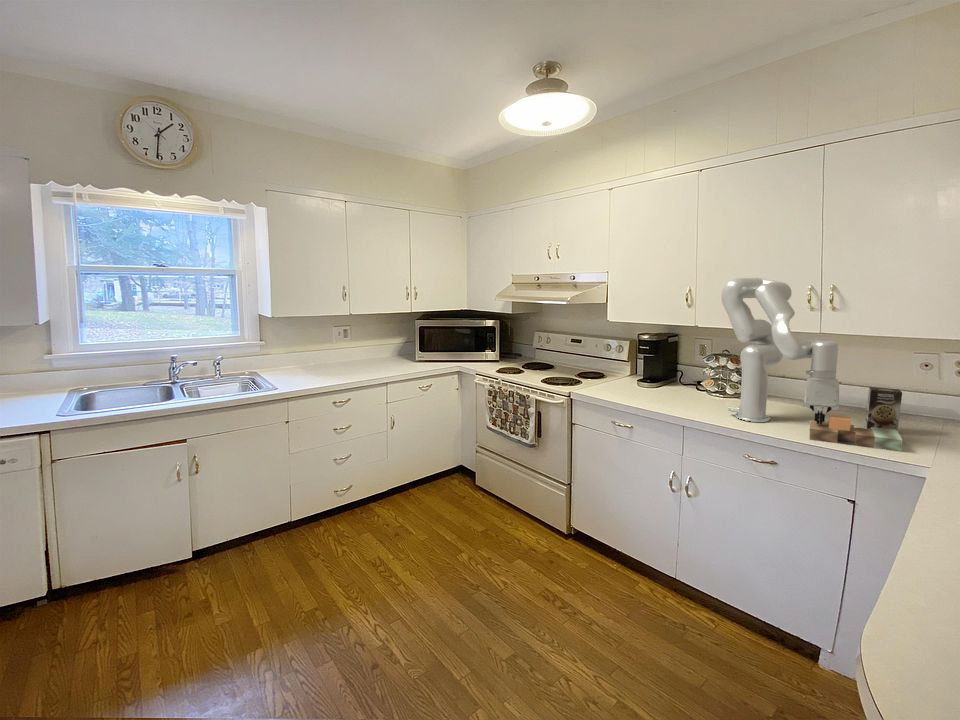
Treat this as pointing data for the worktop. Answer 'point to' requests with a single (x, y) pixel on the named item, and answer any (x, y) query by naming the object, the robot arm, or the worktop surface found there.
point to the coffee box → (883, 408)
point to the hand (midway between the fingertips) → (819, 423)
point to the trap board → (857, 436)
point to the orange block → (839, 422)
